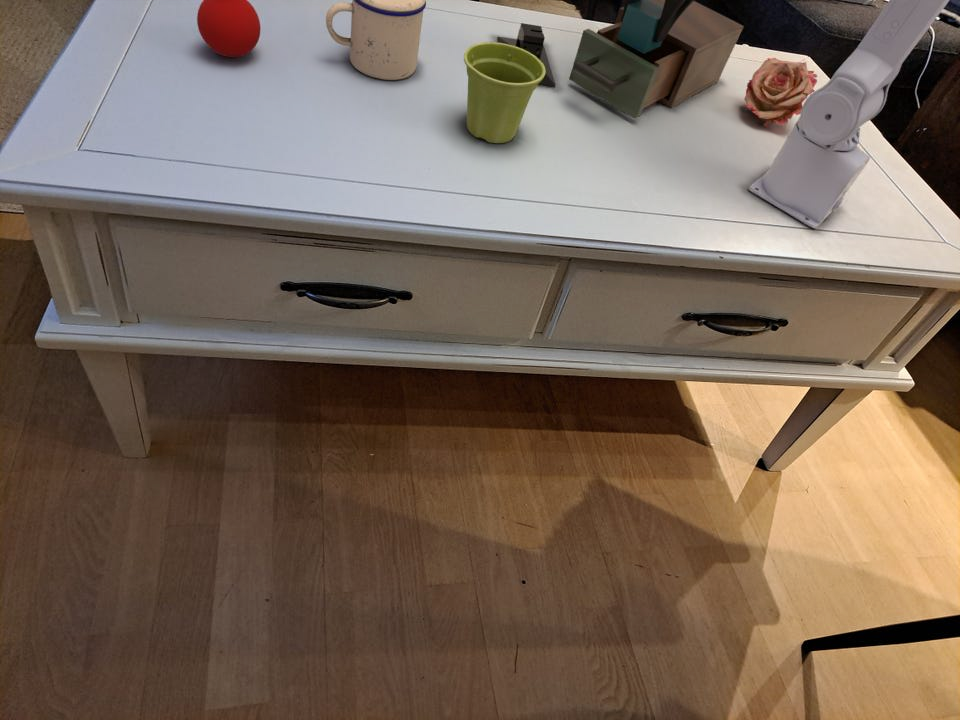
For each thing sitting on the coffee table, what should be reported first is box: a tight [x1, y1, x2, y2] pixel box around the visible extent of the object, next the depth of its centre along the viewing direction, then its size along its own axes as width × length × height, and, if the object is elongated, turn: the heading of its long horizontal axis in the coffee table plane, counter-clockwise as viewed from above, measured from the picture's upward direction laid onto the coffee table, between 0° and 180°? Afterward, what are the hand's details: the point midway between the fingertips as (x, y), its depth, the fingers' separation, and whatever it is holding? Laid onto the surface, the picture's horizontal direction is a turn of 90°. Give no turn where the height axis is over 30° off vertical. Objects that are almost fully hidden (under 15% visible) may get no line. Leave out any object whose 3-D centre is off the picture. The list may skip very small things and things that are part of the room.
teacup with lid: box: [325, 0, 427, 81], centre depth 85 cm, size 12×9×12 cm
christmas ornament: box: [196, 0, 261, 58], centre depth 81 cm, size 7×7×10 cm
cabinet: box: [614, 0, 745, 109], centre depth 100 cm, size 15×13×9 cm
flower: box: [743, 57, 818, 128], centre depth 98 cm, size 10×9×8 cm
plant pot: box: [463, 41, 546, 144], centre depth 81 cm, size 9×9×9 cm
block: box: [617, 0, 663, 54], centre depth 89 cm, size 4×4×4 cm
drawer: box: [568, 21, 689, 120], centre depth 93 cm, size 18×11×7 cm, turn 138°
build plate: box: [496, 22, 557, 89], centre depth 96 cm, size 12×7×5 cm, turn 5°
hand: (642, 31), depth 90 cm, fingers closed on block, 4 cm apart
